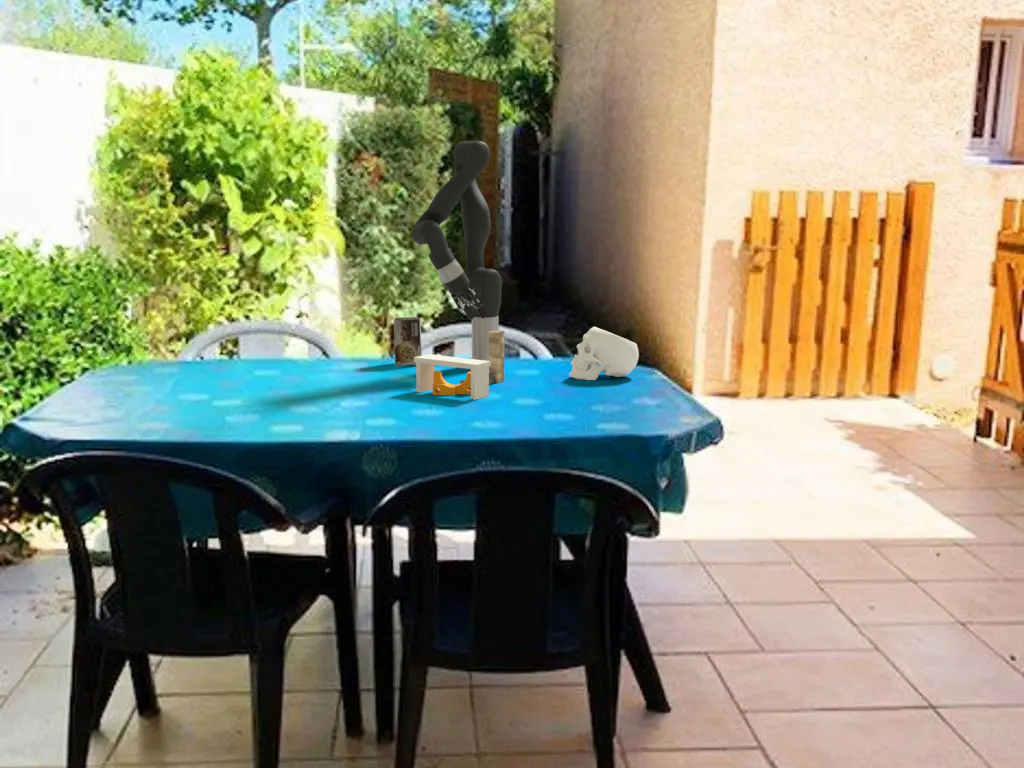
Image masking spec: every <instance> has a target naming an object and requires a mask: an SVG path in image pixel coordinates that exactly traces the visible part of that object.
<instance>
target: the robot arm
mask: <svg viewBox="0 0 1024 768" xmlns="http://www.w3.org/2000/svg"><path fill="white" fill-rule="evenodd" d="M490 158H491V151H490V148H489V145H488V144H487V143H486V142H484V141H480V140H466V141H465V140H463V141H459V142H457V143H456V145H455V147H454V149H453V163H454V169H455V172H456V173H455V175H454V176H453V177H451V178H450V179H449V180H448V181H447V182H446V183H445V184H444V185H443V186H441V187H440V189H439V190H438V191H437V193H435V196H434V198H433V199H432V201H431V202H430V204H429V205H428V207H427V209H426V210H425V211H424V212H423V213H422V215H421V216H420V217H419V218H418V220H417V221H415V223H414V225H413V227H412V230H411V236H412V240H413V241H414V242H415V243H416V244H419V245H427V246H428V248H429V250H430V251H429V253H428V257H429V260H430V262H431V263H432V265H433V267H434V268H435V270H436V272H437V274H438V276H439V278H440V280H441V281H442V283H443V284H444V286H445V287H446V288H445V289H447V291H448V293H449V294H450V297H451V298H452V300H453V302H454V304H455V306H456V307H457V309H458V310H462V311H463V312H464V313H465V315H466V316H467V318H468V320H469V321H470V320H471V359H476V360H485V361H489V331H494V330H498V331H500V330H499V326H500V325H499V324H500V323H499V319H500V318H499V315H500V314H499V311H500V308H501V305H502V287H503V286H502V283H503V282H502V277H501V275H500V273H499V271H498V270H496V269H494V268H493V269H492V268H485V261H484V253H485V252H484V251H485V248H486V245H487V242H488V240H489V236H490V234H491V228H492V226H491V214H490V209H489V206H488V203H487V201H486V199H485V197H484V196H483V194H482V192H481V191H480V188H479V186H478V182H477V177H478V176H479V175H480V174H481V173H482V171H483V170H484V169H485V168H486V167H487V165H488V163H489V161H490ZM459 200H460V205H461V220H462V227H463V234H464V246H465V247H464V248H465V271H464V269H463V267H462V266H461V264H460V263H459V262H458V261H457V259H456V258H455V256H454V254H453V252H452V251H451V250H450V248H449V245H448V241H447V239H446V237H445V234H444V232H443V228H442V227H441V224H442V223H444V222H445V221H447V219H448V218H449V216H450V215H451V213H452V212H453V210H454V209H455V206H456V205H457V203H458V201H459ZM471 307H472V308H471Z"/></svg>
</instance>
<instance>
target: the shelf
mask: <svg viewBox="0 0 1024 768" xmlns="http://www.w3.org/2000/svg"><path fill="white" fill-rule="evenodd" d="M414 362H416V365H415V367H416V369H415V371H416V372H415V375H416V393H424V392H428V391H431V390H432V391H433V383H434V381H433V373H434V372H435V371H436V370H435V369H436V368H435V366H443V367H449V368H458V369H466V370H467V369H468V370H470V372H471V394H470V400H471V399H473V400H472V401H476V399H478V400H480V398H481V399H484V398H487V396H488V397H490V384H489V367H490V366H491V361H485V360H476V359H472V358H465V357H458V356H448V355H438V354H430V353H427V354H422V356H418V357H414Z"/></svg>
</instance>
